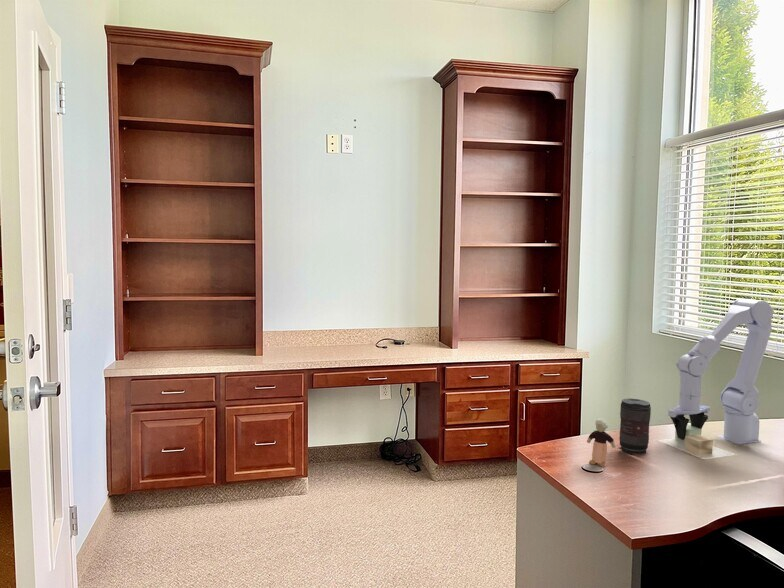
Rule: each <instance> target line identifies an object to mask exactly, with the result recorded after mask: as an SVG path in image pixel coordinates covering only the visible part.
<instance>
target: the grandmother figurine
mask: <svg viewBox="0 0 784 588" xmlns="http://www.w3.org/2000/svg"><path fill="white" fill-rule="evenodd" d="M608 428H609V425H608V423H607V421H606V420H605V419H604V418H597V419H596V420H595V429H596V430H593V431H592V432H591V433H590V434H589V435H588V437H587V440H586V443H588V444H590V443H591V442H592V441H593V439H594V441H593V444H592V453H591V459H590V460H589V462H588V463H589V464H591V465H597V464H598V466H599V465H600V466H599V467H606V466H607V457H608V456H607V455H608V446H607V445H608V443H609V444H610V446H611V448H613V449H615V448H616V446H617V445H616V444H615V439H614V438H613V437H612V436H611V435H610V434H608V433H607V432H606V430H607V429H608ZM607 442H608V443H607ZM596 463H597V464H596Z"/></svg>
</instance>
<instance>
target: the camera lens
mask: <svg viewBox="0 0 784 588" xmlns="http://www.w3.org/2000/svg"><path fill="white" fill-rule="evenodd" d="M651 412H652V407H651V402H649V401H647V400H644V399H638V398H624V399H623V398H622V399H621V402H620V412H619V415H620V417H619V418H620V426H619V446H621V447H620V448H621V449H620V450H621V452H622V453H624V454H627V455H629V454H630V456H634V455H641V454H646V452H647V449H648V448H649V440H650V421H651V414H652V413H651Z"/></svg>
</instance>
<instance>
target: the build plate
mask: <svg viewBox="0 0 784 588" xmlns="http://www.w3.org/2000/svg"><path fill="white" fill-rule="evenodd" d="M657 441H658V442H660V443H663V444H665V445H667V446H670V447H672V448H675V449H677V450H679V451H682V452H684V453H687V454H689V455H692V456H693V457H697V458H699V459H700V460H701V459H702V460H703V461H705V460H711V459H716V458H717V459H719V458H724V457H730V456H731V457H732V456H736V453H732V452H729V451H727V450H725V449H722V448H719V447H717V446H714V445H713V450H712V453H711V454H704V455H697V454H695V453H692V452H690V451H687V450H685V442H682V441H680V440H677V439H675V437H672V438H664V439H657Z"/></svg>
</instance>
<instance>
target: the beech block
mask: <svg viewBox="0 0 784 588" xmlns="http://www.w3.org/2000/svg"><path fill="white" fill-rule="evenodd" d="M713 446H714V439H712V438H709V437H706V436H704V435H702V434H701V435H699V434H698V435H690V436H685V450H687V451H690V452H692V453H695V454H697V455H704V454H711V453H712V450H713Z"/></svg>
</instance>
